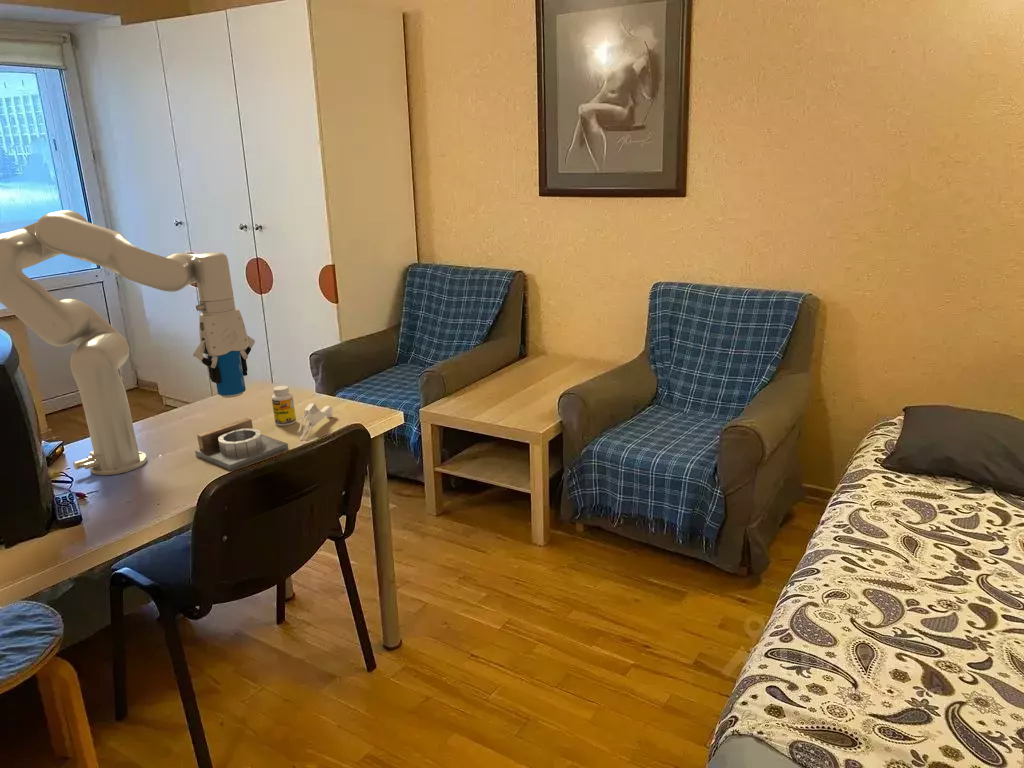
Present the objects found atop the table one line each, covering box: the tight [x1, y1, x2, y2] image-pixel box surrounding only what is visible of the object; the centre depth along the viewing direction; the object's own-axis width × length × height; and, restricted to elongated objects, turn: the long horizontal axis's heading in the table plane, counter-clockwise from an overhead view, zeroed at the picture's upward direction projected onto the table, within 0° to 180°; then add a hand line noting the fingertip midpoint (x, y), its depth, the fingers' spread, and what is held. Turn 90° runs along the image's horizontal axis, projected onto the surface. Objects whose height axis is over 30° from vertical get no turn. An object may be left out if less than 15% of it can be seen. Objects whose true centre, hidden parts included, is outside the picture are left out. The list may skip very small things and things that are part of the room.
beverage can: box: [215, 351, 247, 399], centre depth 187 cm, size 6×6×12 cm
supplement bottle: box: [271, 385, 297, 427], centre depth 211 cm, size 6×6×10 cm
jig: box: [194, 417, 289, 472], centre depth 192 cm, size 16×16×6 cm
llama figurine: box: [296, 402, 333, 441], centre depth 207 cm, size 2×11×18 cm
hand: (229, 377), depth 187 cm, fingers closed on beverage can, 6 cm apart
